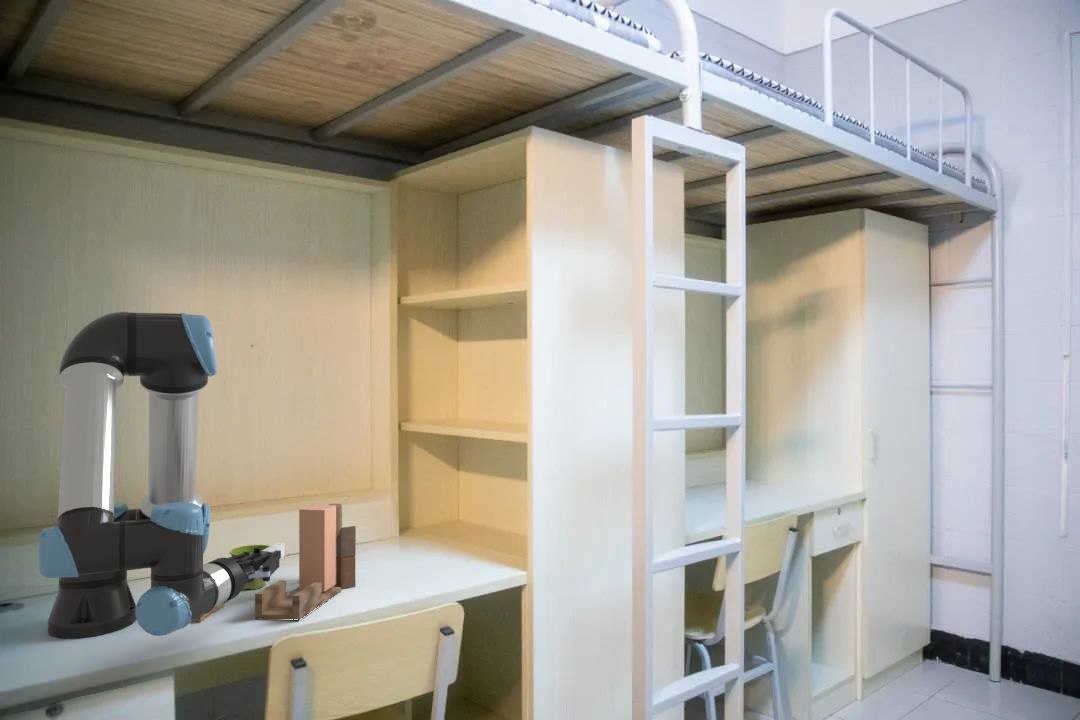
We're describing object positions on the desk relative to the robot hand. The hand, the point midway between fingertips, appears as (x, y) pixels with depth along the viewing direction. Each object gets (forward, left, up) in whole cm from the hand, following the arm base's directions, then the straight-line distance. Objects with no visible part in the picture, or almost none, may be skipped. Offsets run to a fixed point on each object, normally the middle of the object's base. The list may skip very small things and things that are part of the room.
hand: (281, 549), depth 152 cm
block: (-6, +16, -13) cm, 21 cm away
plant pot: (-23, +12, -14) cm, 30 cm away
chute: (-3, +8, -14) cm, 16 cm away
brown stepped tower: (-7, +24, -14) cm, 29 cm away
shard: (-16, -5, -15) cm, 22 cm away
